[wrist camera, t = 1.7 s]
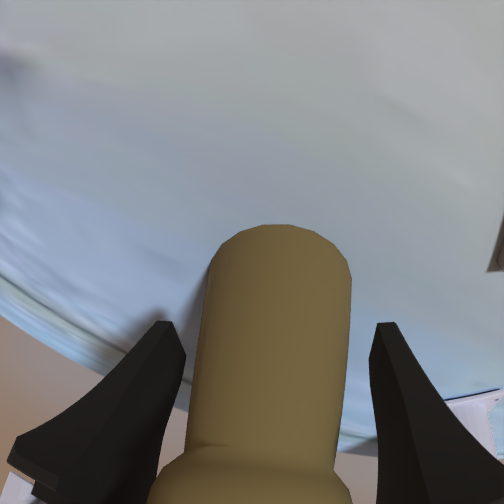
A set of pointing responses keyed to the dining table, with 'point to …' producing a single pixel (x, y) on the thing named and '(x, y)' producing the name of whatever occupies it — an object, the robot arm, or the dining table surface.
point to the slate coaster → (501, 258)
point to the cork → (267, 375)
